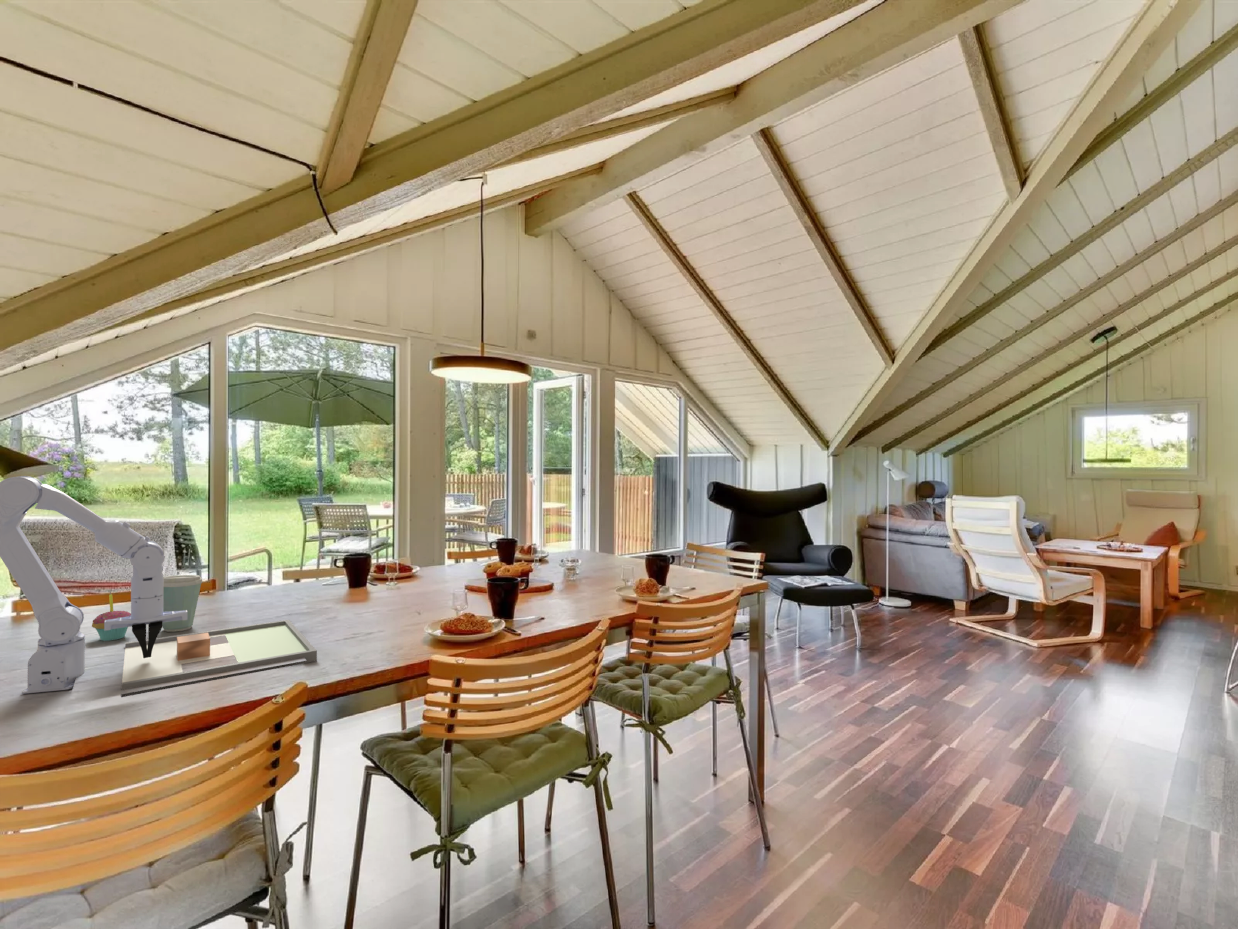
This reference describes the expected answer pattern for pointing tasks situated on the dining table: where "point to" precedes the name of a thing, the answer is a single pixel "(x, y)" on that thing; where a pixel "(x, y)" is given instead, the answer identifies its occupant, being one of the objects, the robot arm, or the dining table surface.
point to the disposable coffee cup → (181, 599)
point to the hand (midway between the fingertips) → (147, 656)
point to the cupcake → (100, 619)
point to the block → (193, 646)
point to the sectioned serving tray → (216, 655)
